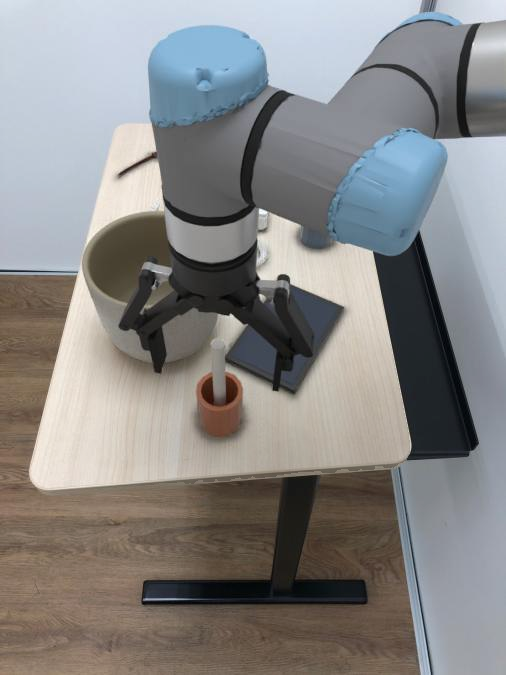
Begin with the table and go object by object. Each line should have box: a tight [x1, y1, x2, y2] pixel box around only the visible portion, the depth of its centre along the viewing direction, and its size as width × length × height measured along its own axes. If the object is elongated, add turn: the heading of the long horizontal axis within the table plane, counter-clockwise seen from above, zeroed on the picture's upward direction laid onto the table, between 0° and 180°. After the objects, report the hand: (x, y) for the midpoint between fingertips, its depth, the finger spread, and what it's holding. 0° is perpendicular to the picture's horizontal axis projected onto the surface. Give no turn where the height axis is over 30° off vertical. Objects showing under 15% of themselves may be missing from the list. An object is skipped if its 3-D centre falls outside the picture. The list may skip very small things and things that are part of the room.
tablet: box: [225, 283, 345, 395], centre depth 79 cm, size 11×17×1 cm, turn 151°
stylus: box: [210, 338, 226, 407], centre depth 64 cm, size 2×2×16 cm
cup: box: [195, 370, 244, 438], centre depth 68 cm, size 6×6×7 cm
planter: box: [81, 210, 219, 363], centre depth 73 cm, size 17×17×15 cm
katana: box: [117, 151, 158, 177], centre depth 102 cm, size 13×2×1 cm, turn 138°
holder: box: [299, 225, 333, 250], centre depth 89 cm, size 6×6×7 cm
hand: (218, 372), depth 62 cm, fingers open, 13 cm apart
